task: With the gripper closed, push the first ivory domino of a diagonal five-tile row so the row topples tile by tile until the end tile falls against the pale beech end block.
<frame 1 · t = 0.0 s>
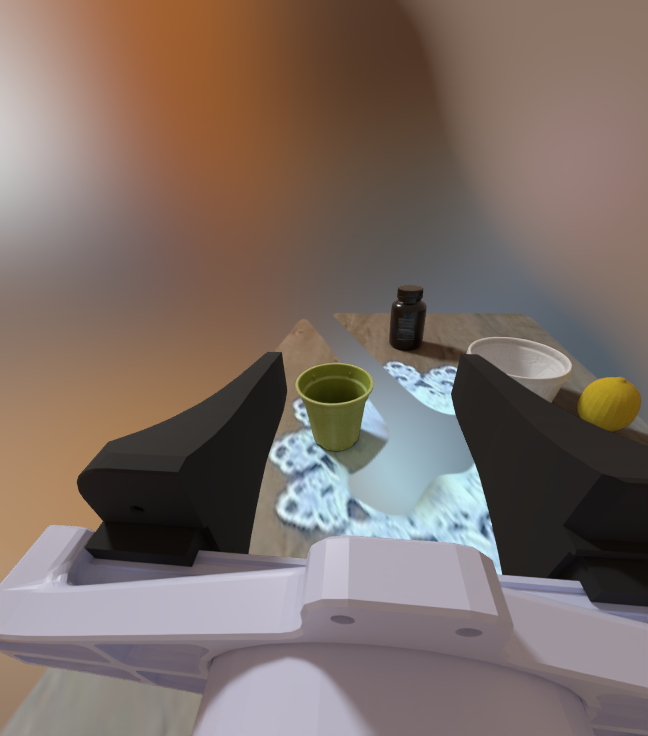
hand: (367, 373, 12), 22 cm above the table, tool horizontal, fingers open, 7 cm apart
supplement bottle: (404, 344, 65), on the table
ramekin: (504, 395, 48), on the table
lemon: (593, 430, 40), on the table
plant pot: (335, 436, 41), on the table
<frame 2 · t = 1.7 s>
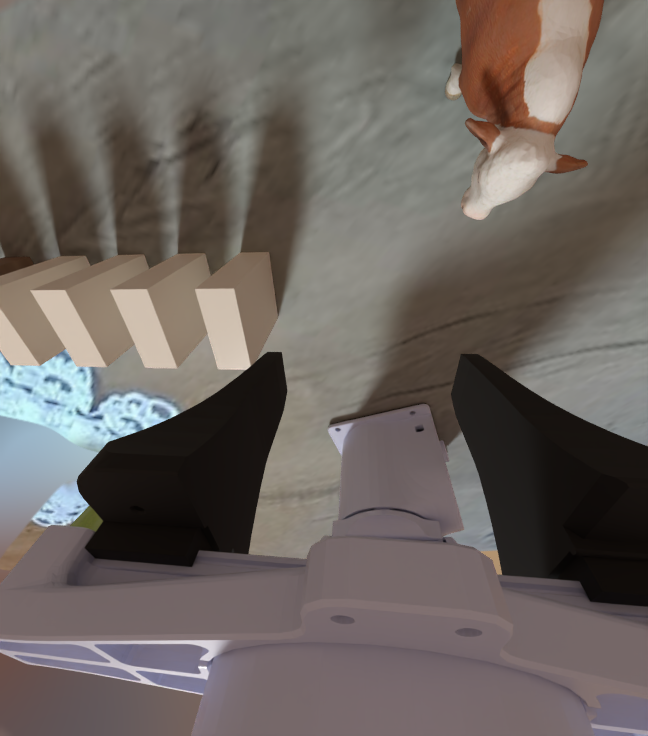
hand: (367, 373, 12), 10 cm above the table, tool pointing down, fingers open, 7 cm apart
domino 5: (36, 288, 24), on the table
domino 2: (200, 287, 22), on the table
domino 3: (143, 287, 23), on the table
domino 1: (260, 286, 22), on the table
domino 4: (89, 288, 23), on the table
bull figurine: (474, 38, 14), on the table
plant pot: (117, 508, 43), on the table
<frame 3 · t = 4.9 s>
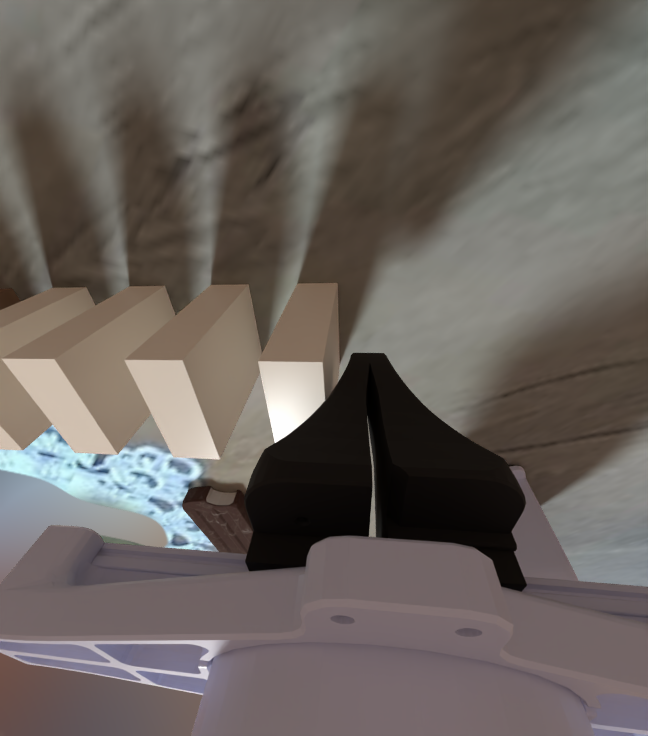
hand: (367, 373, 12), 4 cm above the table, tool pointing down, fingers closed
domino 2: (239, 327, 17), on the table
domino 3: (163, 327, 17), on the table
domino 1: (320, 326, 16), on the table, touching gripper
domino 4: (91, 327, 18), on the table
ice cream bar: (243, 525, 31), on the table
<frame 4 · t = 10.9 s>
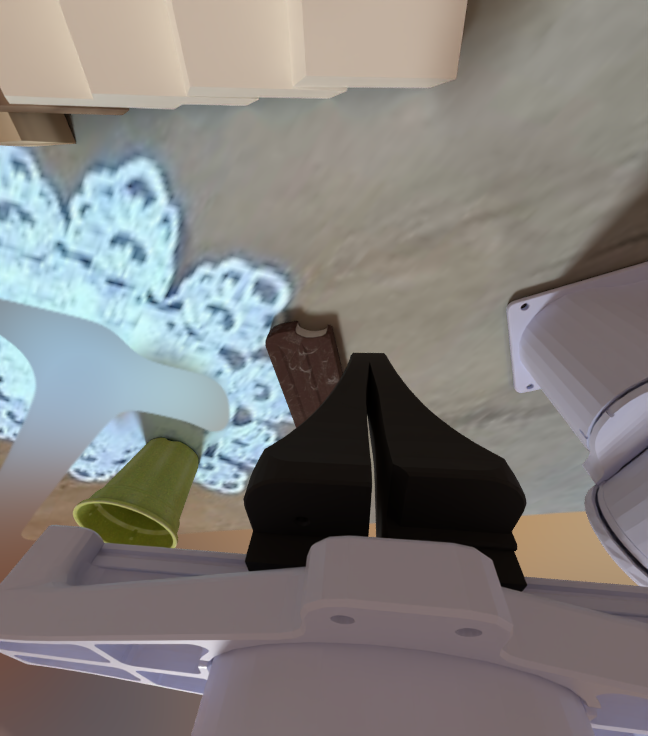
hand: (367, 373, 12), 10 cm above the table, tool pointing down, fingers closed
domino 5: (105, 49, 15), point 1 cm above the table, tilted 45°, touching domino 4, end block
domino 2: (336, 23, 14), point 1 cm above the table, tilted 59°, touching domino 1, domino 3
domino 3: (243, 34, 14), point 1 cm above the table, tilted 53°, touching domino 2, domino 4
domino 1: (451, 7, 13), point 1 cm above the table, tilted 64°, touching domino 2
domino 4: (163, 41, 15), point 1 cm above the table, tilted 47°, touching domino 3, domino 5
plant pot: (175, 453, 35), on the table
ice cream bar: (319, 392, 28), on the table
end block: (17, 64, 16), on the table
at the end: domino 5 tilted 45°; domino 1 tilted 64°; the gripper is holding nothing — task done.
